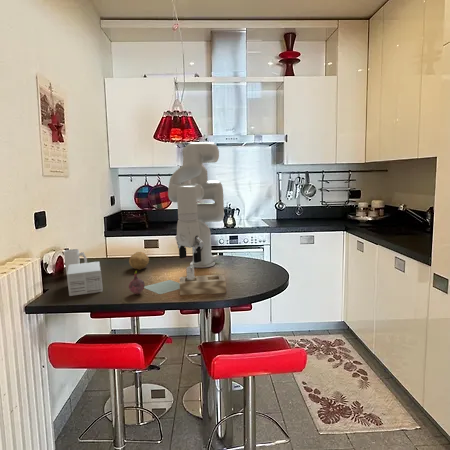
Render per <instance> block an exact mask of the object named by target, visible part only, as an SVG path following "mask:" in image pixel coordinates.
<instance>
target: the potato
mask: <svg viewBox="0 0 450 450" xmlns="http://www.w3.org/2000/svg"><path fill="white" fill-rule="evenodd" d="M149 263H150V258H149V257H148V255H147V254H146V253H145V252H142V251H136V252H135V253H134V254H131V256H130V257H129V259H128V264H129V266H130V267H132V268H133V269H135V270H137V271H139V270H140V271H141V270H142V269H145V268H146V267H147V266H148V264H149Z"/></svg>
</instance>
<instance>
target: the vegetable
mask: <svg viewBox="0 0 450 450" xmlns="http://www.w3.org/2000/svg"><path fill="white" fill-rule="evenodd" d="M137 274H138V270H135V271H134V273H133V279H131V281H130V282H129V283H128V289H129V291H130V292H131V293H133V294H135V295H141V293H142V292H143V290H144V289H145V288H144V287H145V286H146V285H145V282H144V280H143V279H141V278H139V277H138V275H137Z"/></svg>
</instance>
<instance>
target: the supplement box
mask: <svg viewBox="0 0 450 450" xmlns="http://www.w3.org/2000/svg"><path fill="white" fill-rule="evenodd" d="M102 277H103V276H102V270H101V263H100V261H91V262H86V263H84V262H81V263H80V264H71V265H69V266H68V272H67V274H66V280H67V287H68V296H69V297H72V296H73V297H74V296H78V295H87V294H95V293H103V290H104V289H103V278H102Z"/></svg>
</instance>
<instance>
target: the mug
mask: <svg viewBox="0 0 450 450" xmlns="http://www.w3.org/2000/svg"><path fill="white" fill-rule="evenodd" d="M63 255H64V256H63V257H64V258H63V259H64V265H65V273H66V275H67V272H68V266H69V265H71V264H80V261H81V260H80V256H82V257H83V260H84V262H83V263H88V259H87V255H86V254H85V253H84V251H82V252H80V249H78V248H73V249H72V248H71V249H66V250H63Z"/></svg>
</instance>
